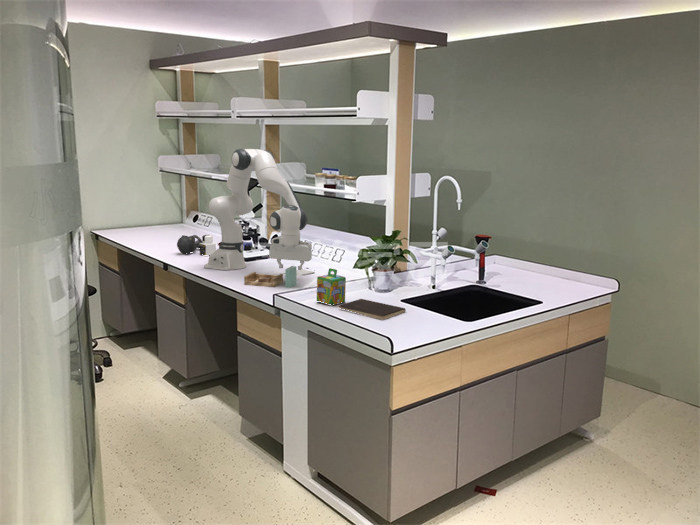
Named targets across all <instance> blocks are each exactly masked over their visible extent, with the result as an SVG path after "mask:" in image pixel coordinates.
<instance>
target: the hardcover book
mask: <svg viewBox="0 0 700 525" xmlns="http://www.w3.org/2000/svg"><path fill="white" fill-rule="evenodd" d="M339 308H341V309H345V310H349V311H352V312H356V313H359V314H358V315H360V314H362V315H361V316H364V315H366V316H365V317H368V316H369V318H372V317H373V319H376V320H377V319H378V320H381V321H383V320H386V319H390V318H392V317H395V316H398V315H400V314H403V313H406V308H404V307H401V306H396V305H392V304H388V303H382V302H378V301H373V300H368V299H366V298H365V299H364V298H358V299H356V300H353V301H349V302H345V303H341V304H338V309H339Z"/></svg>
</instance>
